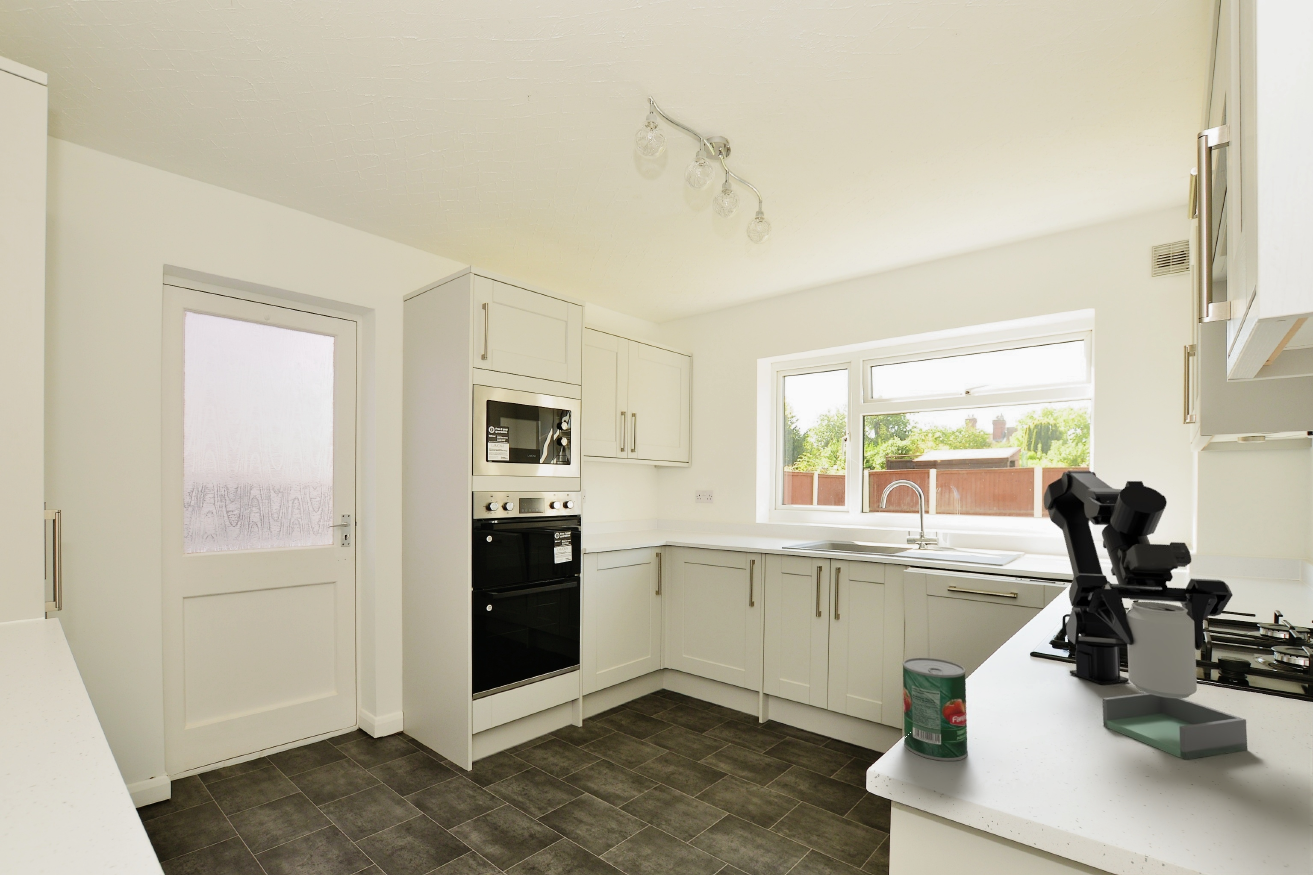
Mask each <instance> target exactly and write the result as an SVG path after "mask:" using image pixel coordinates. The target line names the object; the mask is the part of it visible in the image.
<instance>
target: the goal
mask: <svg viewBox="0 0 1313 875" xmlns="http://www.w3.org/2000/svg"><path fill="white" fill-rule="evenodd" d="M1101 699H1102V716H1103V719H1102V720H1103V721H1102V722H1103V727H1105V728H1106V729H1110V730H1113V731H1115V732H1117V733H1120V734H1123V735H1124V736H1127V737H1129V738H1131V739H1135V740H1137V741H1139V742H1142V743H1144V744H1147V745H1149V746H1151V747H1152V748H1153V747H1154V748H1156V749H1158V750H1161V751H1164V752H1165V753H1168V754H1171V755H1173V756H1175V757H1178V758H1180V759H1183V760H1186V761H1188V760H1193V759H1198V758H1199V759H1200V758H1204V757H1205V758H1206V757H1212V756H1213V757H1214V756H1217V755H1224V754H1225V755H1226V754H1231V753H1236V752H1243V751H1248V734H1247V719H1246V718H1242V717H1240V716H1237V715H1234V714H1231V713H1226V712H1224V711H1220V710H1217V709H1216V708H1215V709H1214V708H1212V707H1209V706H1206V705H1202V704H1200V703H1196V702H1193V701H1191V700H1188V699H1186V698H1179V699H1178V698H1167V697H1161V696H1156V695H1152V694H1149V693H1146V692H1143V693H1135V694H1134V693H1133V694H1128V695H1126V694H1125V695H1119V696H1118V695H1117V696H1111V697H1109V696H1108V697H1102V698H1101Z"/></svg>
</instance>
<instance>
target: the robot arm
mask: <svg viewBox="0 0 1313 875" xmlns="http://www.w3.org/2000/svg"><path fill="white" fill-rule="evenodd" d="M1096 474H1097V473H1095V471H1091V470H1067V471H1063V473H1062V475H1061V477H1060V478H1058V479H1056V480H1055V481H1053V482H1051V483H1049V484H1048V485H1047V488H1046V490H1045V492H1044V494H1043V506H1044V509H1045V510H1047V512H1048V516H1049V518H1050V521H1051V522H1052V523H1053V524H1054V525H1056V526H1057V528H1059V529H1060V530H1061V531H1062V533H1063V537H1064V541H1065V545H1066V549H1067V553H1068V554H1067V555H1068V559H1069V562H1070V566H1071V571H1072V575H1073V578H1072V580H1071V584H1070V587H1069V590H1068V597H1069V602H1070V606H1071V611H1070V615H1069V617H1068V620H1067V622H1066V626H1065V630H1066V637H1067V639H1068V640H1069V641H1070V642H1071V643H1073V645H1076V647H1075V648H1076V650H1075V669H1072V670H1069V674H1071V675H1074V676H1076V677H1078V678H1082V679H1085V680H1088V681H1090V682H1094V683H1096V684H1100V685H1107V684H1108V685H1109V684H1116V683H1117V684H1118V683H1125V682H1126V683H1127V682H1130V680H1129V677H1125V676H1122V675H1121V666H1120V665H1121V662H1120V648H1124V649H1128V645H1132V644H1133V637H1132V633H1131V630H1130V628H1129V625H1128V623H1127V615H1126V613H1127V611H1126V609H1125V606H1124V601H1123V599H1126V600H1127V599H1129V600H1131V601H1142V602H1160V603H1166V602H1167V603H1180V605H1181V607H1183V608H1186V609H1187V610H1188V611H1187V615H1188V616H1189V617H1190V618H1191V619H1192V620H1193V621H1194V629H1195V651H1200V650H1201V649H1202V648H1203V635H1204V620H1206V619H1207V617H1216V616H1220V615H1221V614H1222V613H1223V611H1224V609H1226V607H1227V605H1228V603H1229V602H1230V600H1231V598H1232V597H1233V592H1232V591H1231V589H1230V586H1229V585H1228V584H1227V583H1226V582H1225V581H1224V580H1221V579H1209V578H1207V579H1206V578H1190V580H1189V582H1188V583H1187V585H1186V586H1185V588H1184V587H1168V584H1167V582H1169V583H1170V582H1171V581H1172V580H1173V578H1174V577H1173V574H1172V571H1173V570H1175V569H1179V568H1181V567H1182V568H1185V567H1187V566H1188V565H1190V564H1191V563H1192V555H1191V552H1190V550H1189V547H1188V546H1187V544H1186V542H1179V541H1177V542H1176V541H1171V542H1170V543H1169V544H1163V543H1162V544H1161V543H1160V544H1158V543H1154V544H1153V543H1151V542H1150V540H1149V537H1148V536H1149V535H1151V534H1152V535H1153V534H1155V531H1156V529H1157V527H1158V525H1159V523H1160V520H1161V518H1162V516H1163V514H1164V511H1165V509H1166V506H1167V504H1168V503H1167V502H1168V501H1167V498H1166V496H1165V495H1163V494H1162V493H1160V492H1159V491H1158V490H1156V489H1154V488H1151V487H1149V486H1146V485H1144V483H1143V480H1142V481H1141V480H1140V481H1139V480H1138V481H1137V480H1135V481H1134V480H1133V481H1132V480H1130V481H1129V480H1127V481H1126V484H1125V486H1124V487H1123V488H1121V489H1120V488H1113V487H1112V486H1110V485H1108V484H1107V483H1106V482H1104V481H1103V480H1102V479H1100V478H1099V476H1097V475H1096ZM1090 523H1092V525H1094V526H1105V527H1104V528H1103V529H1102V531H1101V536H1102V539H1103V541H1102V547H1103V549H1106V550H1107V553H1108V557H1109V560H1110V564H1111V569H1110V572H1111V576H1113V577H1114V576H1115V578H1116V581H1117V583H1111V582H1110V581H1109V580H1108V578H1107V575H1104V573H1103V569H1102V566H1101V562H1100V558H1099V555H1098V551H1097V548H1096V545H1095V542H1094V537H1093V534H1092V530H1091V526H1090Z"/></svg>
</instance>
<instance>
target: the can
mask: <svg viewBox="0 0 1313 875" xmlns="http://www.w3.org/2000/svg"><path fill="white" fill-rule="evenodd" d="M1131 606H1132V608H1130V610H1129V611H1127V612H1126V615H1127V623H1128V625H1129V628H1130V630H1131V633H1132V637H1133V644H1132V645H1128V648H1127V663H1128V664H1127V665H1128V666H1127V667H1128V668H1127V669H1128V670H1127V671H1128V679H1129V682H1130V683H1132V685H1134V686H1135V687H1136V689H1137V690H1139V691H1141V692H1143V693H1149V694H1152V695H1156V696H1161V697H1167V698H1178V699H1179V698H1182V699H1187V698H1189V697H1191V695H1193V694H1195V693H1196V692H1197V690H1198V688H1197V687H1198V685H1197V684H1198V682H1197V659H1196V649H1195V629H1194V621H1193V620H1192V619H1191V618H1190V617H1189V616H1188V615H1187V611H1188V610H1187V609H1186V608H1183V607H1182V605H1181V606H1180V605H1176V604H1171V603H1166V602H1158V601H1134V602H1132V603H1131Z"/></svg>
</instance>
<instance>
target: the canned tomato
mask: <svg viewBox="0 0 1313 875" xmlns="http://www.w3.org/2000/svg"><path fill="white" fill-rule="evenodd" d="M901 664H902V680H903V681H902V683H903V686H902V687H903V695H902V696H903V724H904V725H903V731H904V732H903V733H904V735H903V736H904V740H903V744H904V746H905V748H906V749H907V750H908V751H910V752H911V753H913V754H914V755H915V754H916V755H917V756H920V757H922V758H926V759H928V760H929V759H930V760H934V761H940V762H941V761H942V762H955V761H961V760H964V759H965V758H966V757H967V756H968V753H969V752H968V729H967V728H968V725H967V724H968V723H967V721H968V719H967V714H968V713H967V688H966V686H967V684H966V683H967V682H966V672H967V670H966V668H965V667H964V666H962V665H961V664H959V663H956V662H953V661H950V660H947V659H940V658H936V657H935V658H934V657H912V658H911V657H910V658H907V659H904V660H903V661H902V663H901ZM910 732H911V733H910ZM908 734H909V735H908ZM906 736H907V737H906ZM905 737H906V738H905Z"/></svg>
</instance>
